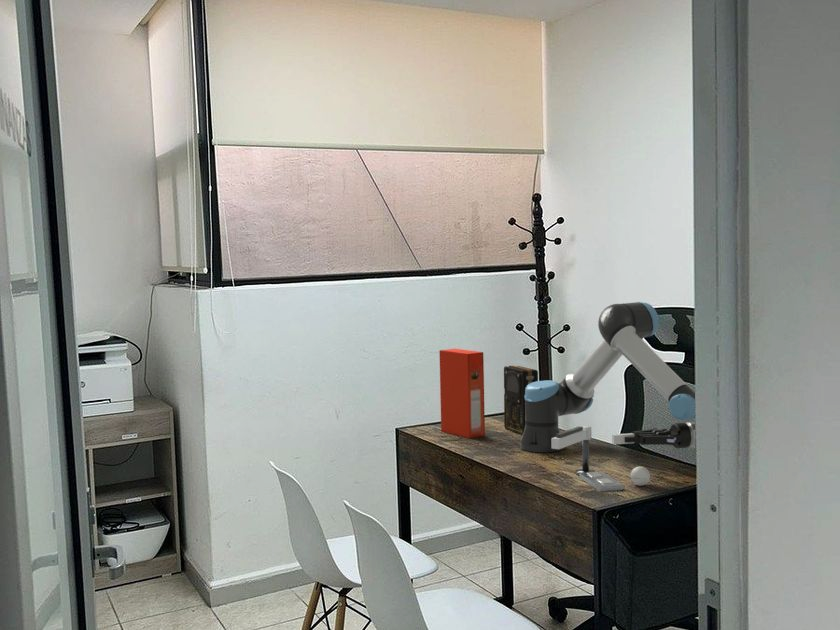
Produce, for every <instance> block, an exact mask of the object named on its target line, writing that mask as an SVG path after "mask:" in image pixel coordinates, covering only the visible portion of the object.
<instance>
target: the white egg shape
mask: <svg viewBox="0 0 840 630" xmlns="http://www.w3.org/2000/svg"><path fill="white" fill-rule="evenodd" d="M629 475H630V479H631V482H632V483H633V484H634V485H636V486H640V487H641V486H645V485H647V484H648V483H649V481H650V480H651V475H650V472H649V470H648V469H647V468H646V467H644V466H636V467H634V468H632V470H631V472H630V474H629Z"/></svg>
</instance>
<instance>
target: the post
mask: <svg viewBox="0 0 840 630" xmlns="http://www.w3.org/2000/svg"><path fill="white" fill-rule="evenodd" d="M581 442H582V443H581V445H582V446H581V450H582V451H581V453H582V455H581V458H582V460H581V464H582V466H581V467H582V468H578V469H576V470H575V475H576V476H578V477H579V473H585V472H596V470H595V469H592V468H590V440H583V441H581Z"/></svg>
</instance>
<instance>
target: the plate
mask: <svg viewBox="0 0 840 630" xmlns="http://www.w3.org/2000/svg"><path fill="white" fill-rule="evenodd" d="M578 478H579V479H580V480H582V481H584V482H585V483H587V484H588V485H589V486H591V487H592V488H594V489H596V490H597V491H598V492H612V491H623V490H624V487H623V485H624V484H622V483H620V482H619V481H617V480H615V479H614V478H612V477H611V476H609V475H608V474H606V473H604V472H602V471H600V470H599V471H595V472H585V473H579V476H578Z"/></svg>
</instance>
